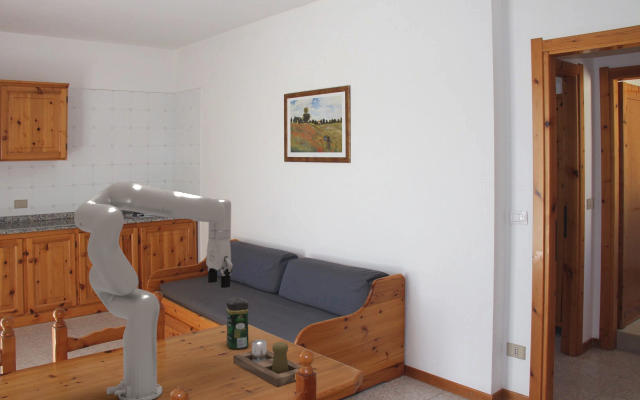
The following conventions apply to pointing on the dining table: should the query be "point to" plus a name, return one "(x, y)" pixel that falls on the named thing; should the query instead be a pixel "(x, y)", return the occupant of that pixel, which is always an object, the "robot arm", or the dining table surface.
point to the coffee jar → (237, 323)
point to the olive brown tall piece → (280, 357)
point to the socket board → (266, 368)
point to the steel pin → (259, 350)
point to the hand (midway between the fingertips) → (218, 284)
